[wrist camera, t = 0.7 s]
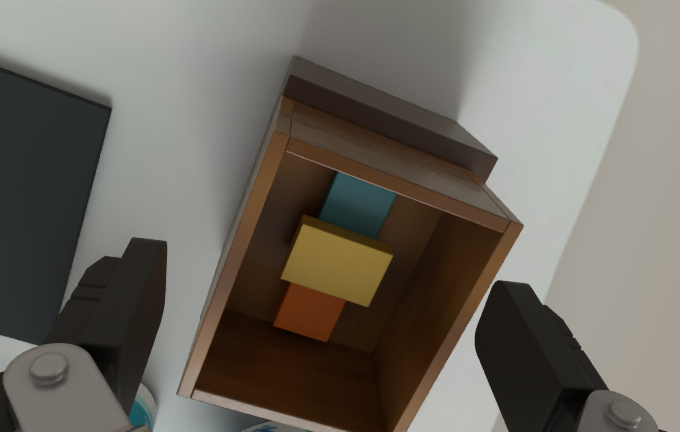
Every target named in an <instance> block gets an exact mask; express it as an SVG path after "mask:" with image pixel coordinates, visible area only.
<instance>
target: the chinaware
mask: <svg viewBox="0 0 680 432" xmlns="http://www.w3.org/2000/svg"><path fill="white" fill-rule="evenodd" d="M240 432H312V431H309V430H305V429H301V428H298V427H294V426H290V425H287V424H283V423H279V422H275V421H272V420H270V421H267V422H264V423H262V424H258V425H255V426H252V427H249V428H247V429H244V430H242V431H240Z"/></svg>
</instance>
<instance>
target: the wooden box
mask: <svg viewBox="0 0 680 432" xmlns="http://www.w3.org/2000/svg"><path fill="white" fill-rule="evenodd" d="M334 170H335V171H338V172H341V173H343V174H346V175H349V176H351V177H354V178H357V179H359V180H362V181H365V182H367V183H370V184H373V185H375V186H378V187H381V188H383V189H386V190H389V191H391V192H394V193H397V195H396V197H395V199H394V201H393V204H392V206H391V208H390V210H389V212H388V214H387V216H386V218H385V220H384V223H383V225H382V227H381V229H380V231H379V233H378V235H377V237H376V240H378V241H381V242H384V243H387V244H389V245H390V247H391V250H392V253H393V258H392V260H391V262H390V264H389V266H388V268H387V270H386V272H385V274H384V276H383V278H382V280H381V282H380V284H379V286H378V288H377V290H376V292H375V294H374V296H373V298H372V300H371V302H370V304H369V306H368V307H366V306H363V305H360V304H357V303H353V302H350V301H346V303H345V305H344V307H343V309H342V312H341V314H340V316H339V318H338V320H337V322H336V324H335V326H334V328H333V331H332V333H331V335H330V337H329V339H328V341H327V342H324V341H320V340H317V339H314V338H311V337H307V336H304V335H301V334H298V333H294V332H291V331H288V330H285V329H281V328H278V327H275V326H273V319H274V312H275V310H276V307H277V305H278V303H279V300H280V298H281V295H282V293H283V291H284V288H285V286H286V284H287V281H286V280H283V279H281V278H280V275H281V266H282V264H283V261H284V259H285V256H286V254H287V251H288V249H289V247H290V244H291V242H292V239H293V237H294V234H295V232H296V230H297V227H298V225H299V222H300V220H301V217H302V215H303V214H305V215H307V216H310V217H313V218H314V217H315V215H316V212H317V210H318V207H319V205H320V203H321V200H322V198H323V196H324V193H325V191H326V188H327V186H328V184H329V181H330V179H331V177H332V174H333V172H334ZM523 227H524V225H523V224H522V223H521V222H520V221H519V220H518V219H517V218H516V216H515V215H514V214H513V213H512V212H511V211H510V210H509V209H508V208H507V207H506V206H505V205H504V204H503V203H502V201H501V200H500V199H499V198H498V197H497V196H496V195H495V194H494V193H493V192H492V191H491V190H490V189H489V188H488V186H487V185H486V184H485V183H484V182H483V181H482V180H481V179H480V178H479V177H478V176H477V175H476V174H475V173H474V171H473V170H471V169H469V168H466V167H464V166H461V165H459V164H456V163H454V162H451V161H449V160H446V159H444V158H441V157H438V156H436V155H433V154H431V153H428V152H426V151H423V150H421V149H418V148H416V147H413V146H411V145H408V144H406V143H403V142H401V141H398V140H396V139H393V138H390V137H388V136H385V135H383V134H380V133H378V132H375V131H373V130H370V129H368V128H365V127H363V126H360V125H358V124H355V123H353V122H350V121H348V120H345V119H342V118H340V117H337V116H335V115H332V114H330V113H327V112H325V111H322V110H320V109H317V108H315V107H312V106H310V105H307V104H305V103H302V102H300V101H297V100H294V99H292V98H290V97H287V96H284V95H282V96H281V98H280V101H279V104H278V107H277V109H276V112H275V115H274V118H273V120H272V123H271V126H270V128H269V131H268V134H267V137H266V139H265V142H264V145H263V148H262V150H261V153H260V156H259V159H258V161H257V164H256V167H255V169H254V172H253V175H252V178H251V180H250V183H249V186H248V189H247V191H246V194H245V197H244V199H243V202H242V205H241V208H240V210H239V213H238V216H237V219H236V221H235V224H234V227H233V229H232V232H231V235H230V238H229V240H228V243H227V246H226V249H225V251H224V254H223V257H222V259H221V262H220V265H219V268H218V270H217V273H216V276H215V279H214V281H213V284H212V287H211V290H210V292H209V295H208V298H207V300H206V303H205V306H204V309H203V312H202V315H201V318H200V322H199V325H198V328H197V331H196V334H195V337H194V340H193V343H192V346H191V350H190V353H189V356H188V359H187V362H186V365H185V368H184V371H183V374H182V378H181V381H180V384H179V387H178V390H177V395H179V396H183V397H187V398H190V397H191V399H194V400H198V401H202V402H206V403H209V404H213V405H217V406H220V407H224V408H228V409H231V410H235V411H239V412H242V413H246V414H250V415H253V416H257V417H261V418H264V419H268V420H272V421H275V422H279V423H283V424H287V425H290V426H294V427H298V428H301V429H305V430H309V431H312V432H406V431H407V430H408V428H409V426H410V424H411V423H412V421H413V419H414V417H415V416H416V414H417V412H418V410H419V409H420V407H421V405H422V403H423V402H424V400H425V398H426V396H427V395H428V393H429V391H430V389H431V388H432V386H433V384H434V382H435V381H436V379H437V377H438V376H439V374H440V372H441V370H442V369H443V367H444V365H445V363H446V362H447V360H448V358H449V356H450V355H451V353H452V351H453V349H454V348H455V346H456V344H457V342H458V341H459V339H460V337H461V335H462V334H463V332H464V330H465V328H466V327H467V325H468V323H469V321H470V320H471V318H472V316H473V314H474V313H475V311H476V309H477V307H478V306H479V304H480V302H481V300H482V299H483V297H484V295H485V293H486V292H487V290H488V288H489V286H490V285H491V283H492V281H493V279H494V278H495V276H496V274H497V273H498V271H499V269H500V267H501V266H502V264H503V262H504V260H505V259H506V257H507V255H508V253H509V252H510V250H511V248H512V246H513V245H514V243H515V241H516V239H517V238H518V236H519V234H520V232H521V231H522V229H523Z"/></svg>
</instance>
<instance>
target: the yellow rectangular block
mask: <svg viewBox="0 0 680 432" xmlns="http://www.w3.org/2000/svg"><path fill="white" fill-rule="evenodd" d="M392 258H393V253H392V250H391V247H390V245H389V244H387V243H384V242H381V241H378V240H375V239H372V238H370V237H367V236H364V235H361V234H358V233H356V232H353V231H350V230H347V229H344V228H341V227H339V226H336V225H333V224H330V223H327V222H324V221H322V220H319V219H316V218H313V217H310V216H307V215H305V214H303V215H302V217H301V220H300V222H299V225H298V227H297V230H296V232H295V234H294V237H293V239H292V242H291V244H290V247H289V249H288V251H287V254H286V256H285V259H284V261H283V264H282V266H281V275H280V278H281V279H283V280H286V281H289V282H292V283H295V284H298V285H301V286H304V287H307V288H311V289H314V290H317V291H320V292H323V293H326V294H329V295H332V296H335V297H338V298H341V299H344V300H347V301H350V302H353V303H357V304H360V305H363V306H366V307H368V306H369V304H370V302H371V300H372V298H373V296H374V294H375V292H376V290H377V288H378V286H379V284H380V282H381V280H382V278H383V276H384V274H385V272H386V270H387V268H388V266H389V264H390V262H391V260H392Z"/></svg>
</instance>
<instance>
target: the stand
mask: <svg viewBox="0 0 680 432" xmlns="http://www.w3.org/2000/svg"><path fill="white" fill-rule="evenodd" d="M282 95H284V96H287V97H290V98H292V99H294V100H297V101H300V102H302V103H305V104H307V105H310V106H312V107H315V108H317V109H320V110H322V111H325V112H327V113H330V114H332V115H335V116H337V117H340V118H342V119H345V120H348V121H350V122H353V123H355V124H358V125H360V126H363V127H365V128H368V129H370V130H373V131H375V132H378V133H380V134H383V135H385V136H388V137H390V138H393V139H396V140H398V141H401V142H403V143H406V144H408V145H411V146H413V147H416V148H418V149H421V150H423V151H426V152H428V153H431V154H433V155H436V156H438V157H441V158H444V159H446V160H449V161H451V162H454V163H456V164H459V165H461V166H464V167H466V168H469V169H471V170H473V171H474V173H475V174H476V175H477V176H478V177H479V178H480V179H481V180H482V181H483V182H484V183H486V181H487V179H488V177H489V175H490V173H491V171H492V169H493V168H494V166H495V164H496V162H497V160H498V158H497V157H496V156H495V155H494V154H493V153H492V152H491V151H489V150H488V149H487V148H486V147H485V146H484V145H483V144H481V143H480V142H479V141H478V140H477V139H476V138H474V137H473V136H472V135H471V134H470V133H469V132H468V131H466V130H465V129H464V128H463V127H462V126H461V125H460V124H458V123H457V122H455V121H453V120H450V119H448V118H445V117H443V116H440V115H438V114H436V113H433V112H431V111H428V110H426V109H424V108H421V107H419V106H416V105H414V104H411V103H409V102H407V101H404V100H402V99H399V98H397V97H394V96H392V95H390V94H387V93H385V92H382V91H380V90H378V89H375V88H373V87H370V86H368V85H365V84H363V83H361V82H358V81H356V80H353V79H351V78H349V77H346V76H344V75H341V74H339V73H336V72H334V71H332V70H329V69H327V68H324V67H322V66H319V65H317V64H315V63H312V62H310V61H307V60H305V59H303V58H300V57H298V56H295V55H294V56H293V58H292V61H291V63H290V66H289V69H288V72H287V74H286V77H285V80H284V83H283V85H282V88H281V91H280V94H279V96H278V99H277V102H276V105H275V107H274V110H273V113H272V116H271V118H270V121H269V124H268V126H267V129H266V132H265V135H264V137H263V140H262V143H261V146H260V148H259V151H258V154H257V157H256V159H255V162H254V165H253V168H252V170H251V173H250V176H249V179H248V181H247V184H246V187H245V190H244V192H243V195H242V198H241V201H240V203H239V206H238V209H237V212H236V214H235V217H234V220H233V222H232V225H231V228H230V231H229V233H228V236H227V239H226V242H225V244H224V247H223V250H222V253H221V256H220V259H219V262H218V265H217V268H216V271H215V274H214V277H213V280H212V283H211V286H210V289H209V292H210V290H211V287H212V284H213V281H214V279H215V276H216V273H217V270H218V268H219V265H220V262H221V259H222V257H223V254H224V251H225V249H226V246H227V243H228V240H229V238H230V235H231V232H232V229H233V227H234V224H235V221H236V219H237V216H238V213H239V210H240V208H241V205H242V202H243V199H244V197H245V194H246V191H247V189H248V186H249V183H250V180H251V178H252V175H253V172H254V169H255V167H256V164H257V161H258V159H259V156H260V153H261V150H262V148H263V145H264V142H265V139H266V137H267V134H268V131H269V128H270V126H271V123H272V120H273V118H274V115H275V112H276V109H277V107H278V104H279V101H280V98H281V96H282ZM209 292H208V295H209ZM208 295H207V298H208ZM207 298H206V300H207ZM205 303H206V301H205ZM204 306H205V304H204ZM203 309H204V307H203ZM202 312H203V310H202ZM201 315H202V313H201ZM200 318H201V316H200Z"/></svg>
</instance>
